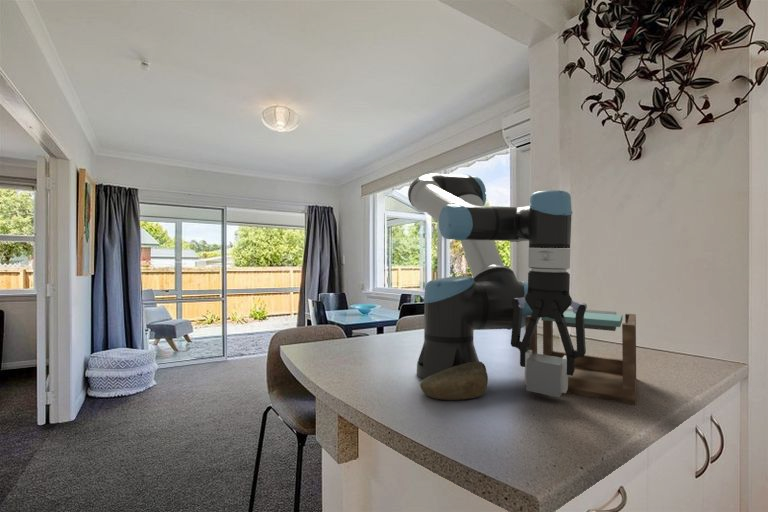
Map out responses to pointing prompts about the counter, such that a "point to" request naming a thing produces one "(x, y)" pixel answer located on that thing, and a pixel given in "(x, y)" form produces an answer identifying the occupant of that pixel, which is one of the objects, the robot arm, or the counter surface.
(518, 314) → the robot arm
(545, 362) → the gray cube
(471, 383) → the stone
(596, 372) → the frame
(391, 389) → the counter surface
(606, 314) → the trapdoor
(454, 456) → the counter surface
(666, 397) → the counter surface
